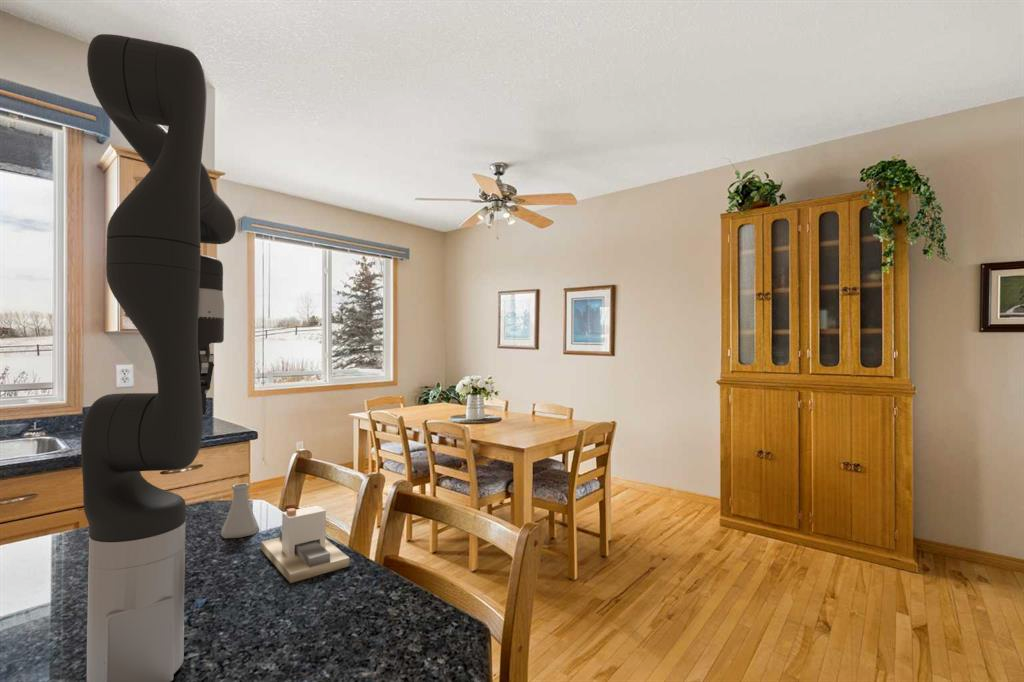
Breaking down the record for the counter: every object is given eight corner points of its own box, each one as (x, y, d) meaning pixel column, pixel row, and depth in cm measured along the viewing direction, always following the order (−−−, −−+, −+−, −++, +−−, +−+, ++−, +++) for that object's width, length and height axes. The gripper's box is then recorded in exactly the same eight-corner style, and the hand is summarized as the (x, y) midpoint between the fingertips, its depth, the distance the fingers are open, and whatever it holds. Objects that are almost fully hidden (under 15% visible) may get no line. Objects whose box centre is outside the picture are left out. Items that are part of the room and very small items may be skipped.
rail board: (349, 566, 88) (349, 549, 88) (290, 583, 82) (290, 564, 82) (313, 536, 102) (313, 522, 102) (260, 549, 96) (261, 533, 96)
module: (325, 548, 92) (325, 506, 93) (288, 557, 88) (289, 513, 88) (317, 541, 96) (318, 501, 96) (281, 550, 91) (282, 508, 91)
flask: (221, 530, 106) (222, 482, 106) (259, 524, 109) (260, 479, 109) (218, 542, 99) (219, 491, 99) (259, 536, 102) (259, 487, 102)
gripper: (231, 315, 85) (230, 416, 85) (216, 318, 95) (214, 409, 95) (179, 313, 80) (177, 420, 80) (168, 316, 90) (167, 412, 90)
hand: (197, 414), depth 87 cm, fingers closed
